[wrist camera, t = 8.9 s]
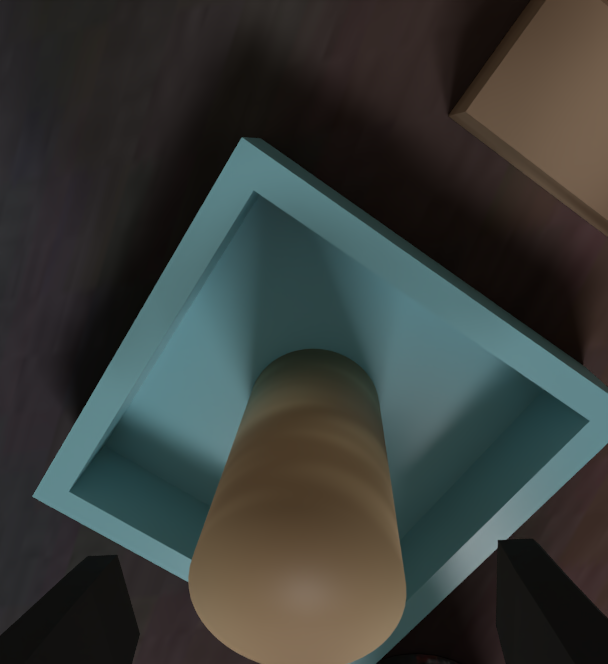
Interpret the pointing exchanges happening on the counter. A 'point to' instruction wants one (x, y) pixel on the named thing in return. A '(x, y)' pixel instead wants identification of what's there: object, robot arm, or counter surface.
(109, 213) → the counter surface
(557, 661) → the robot arm
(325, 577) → the dowel
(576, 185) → the socket block
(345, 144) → the counter surface
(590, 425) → the tray
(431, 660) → the deodorant
